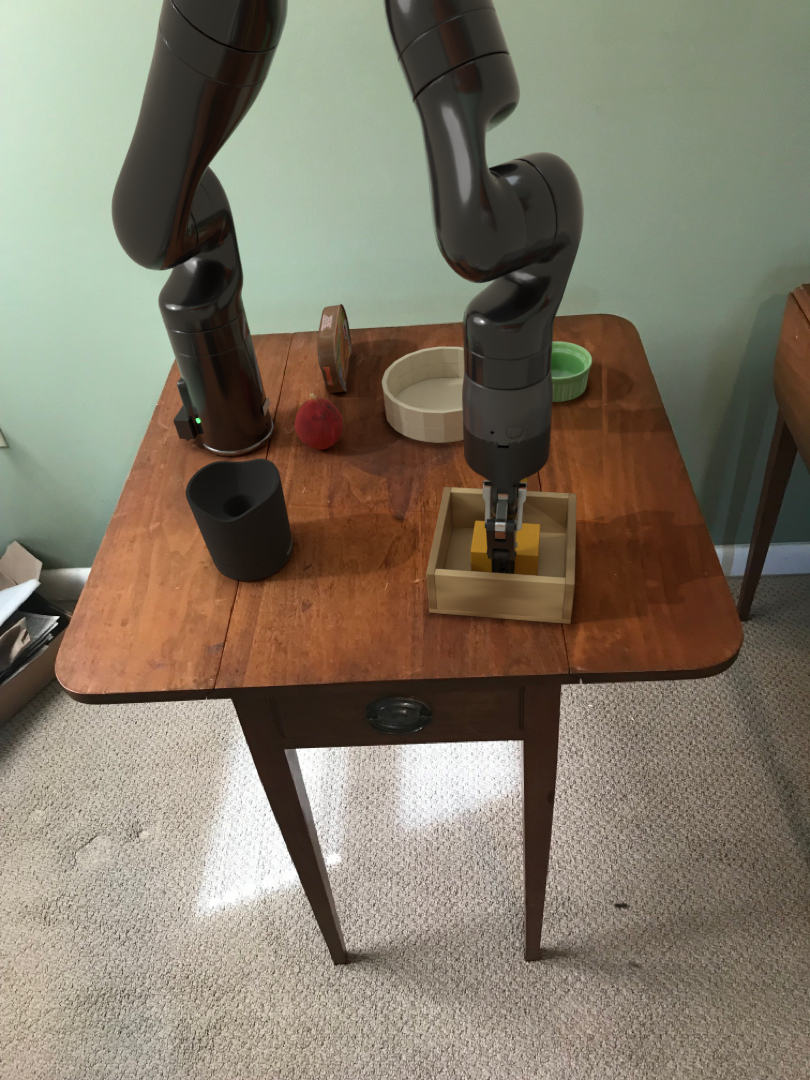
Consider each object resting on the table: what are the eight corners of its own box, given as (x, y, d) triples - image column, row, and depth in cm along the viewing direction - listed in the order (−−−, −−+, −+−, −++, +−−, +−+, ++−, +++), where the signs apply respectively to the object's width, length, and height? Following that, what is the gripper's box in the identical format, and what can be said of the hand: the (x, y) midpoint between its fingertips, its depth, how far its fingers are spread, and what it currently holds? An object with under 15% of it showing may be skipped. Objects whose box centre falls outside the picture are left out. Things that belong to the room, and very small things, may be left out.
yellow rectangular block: (471, 572, 76) (470, 551, 74) (475, 541, 80) (475, 520, 78) (537, 577, 75) (538, 555, 73) (539, 545, 78) (540, 523, 76)
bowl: (375, 443, 96) (371, 410, 93) (397, 377, 107) (393, 345, 103) (497, 448, 93) (497, 414, 90) (507, 380, 104) (507, 347, 101)
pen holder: (250, 599, 79) (226, 528, 72) (193, 560, 83) (166, 490, 77) (315, 547, 83) (299, 476, 77) (258, 513, 88) (238, 443, 81)
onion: (353, 438, 97) (345, 383, 92) (336, 465, 93) (326, 411, 88) (311, 432, 99) (301, 378, 93) (293, 459, 95) (280, 404, 90)
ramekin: (569, 363, 106) (572, 335, 103) (602, 397, 99) (605, 367, 96) (509, 379, 104) (510, 350, 101) (538, 414, 98) (540, 384, 95)
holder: (429, 612, 76) (425, 573, 72) (446, 525, 84) (444, 486, 80) (570, 624, 73) (574, 584, 69) (572, 533, 82) (576, 493, 78)
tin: (346, 404, 103) (337, 348, 97) (323, 405, 103) (312, 349, 97) (354, 346, 114) (346, 292, 108) (333, 347, 114) (324, 294, 108)
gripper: (471, 367, 71) (475, 505, 83) (452, 463, 61) (459, 605, 73) (554, 368, 70) (545, 509, 81) (548, 467, 60) (539, 611, 71)
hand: (505, 554), depth 77 cm, fingers closed on yellow rectangular block, 4 cm apart
